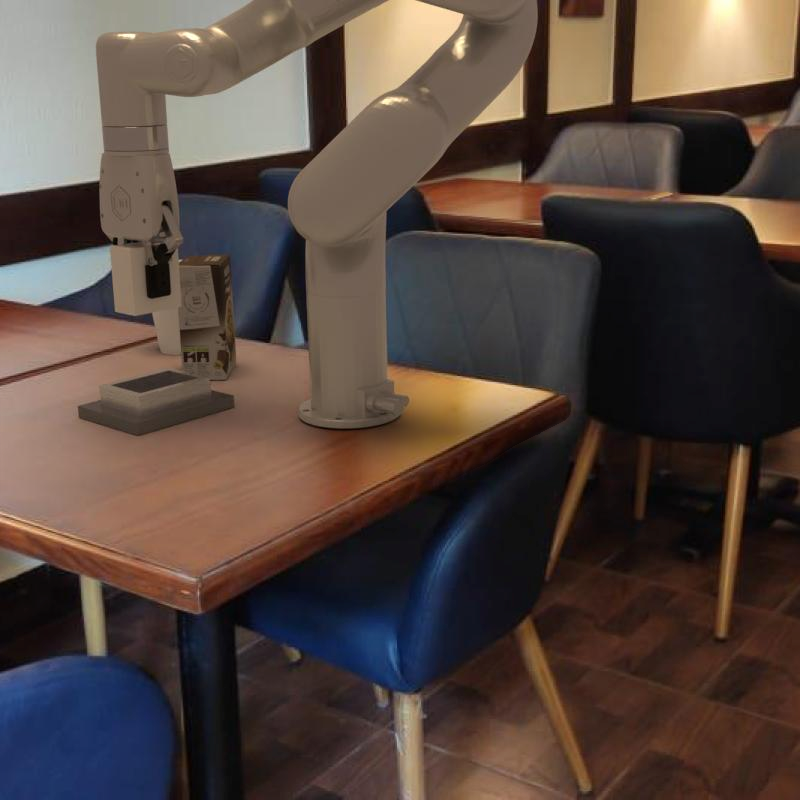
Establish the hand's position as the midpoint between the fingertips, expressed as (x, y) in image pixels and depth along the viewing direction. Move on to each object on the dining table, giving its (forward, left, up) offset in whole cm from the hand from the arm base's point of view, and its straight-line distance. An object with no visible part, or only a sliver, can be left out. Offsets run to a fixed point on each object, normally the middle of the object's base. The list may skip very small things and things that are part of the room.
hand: (147, 292), depth 147 cm
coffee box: (+10, -17, -15) cm, 25 cm away
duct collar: (0, 0, -15) cm, 15 cm away
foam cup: (+24, -23, -15) cm, 37 cm away
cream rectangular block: (0, 0, -2) cm, 2 cm away
